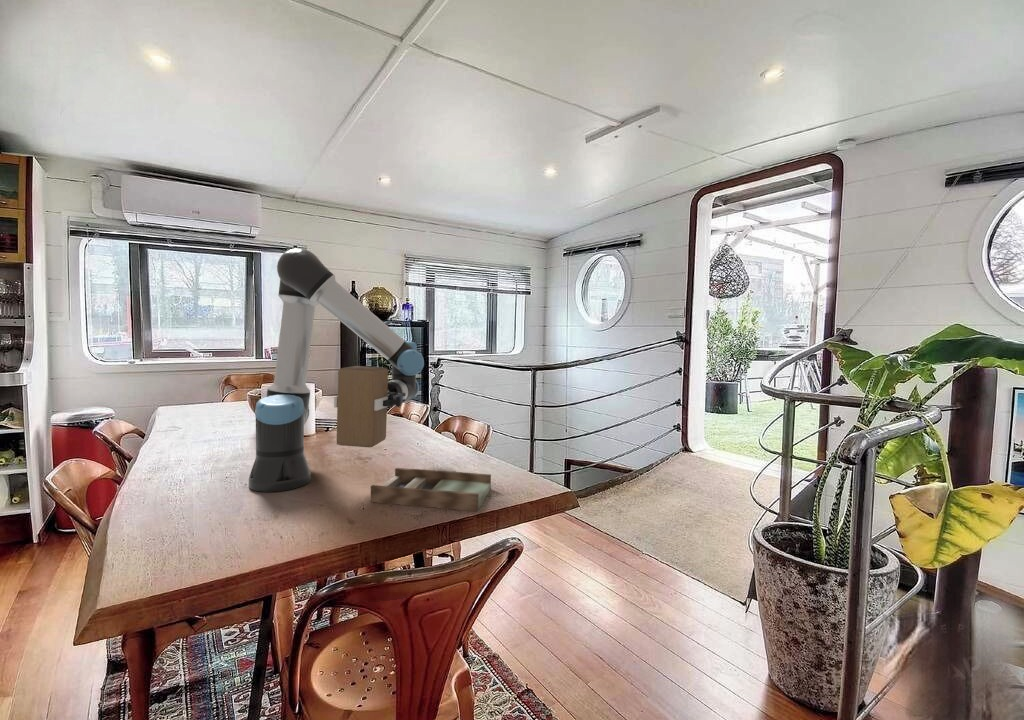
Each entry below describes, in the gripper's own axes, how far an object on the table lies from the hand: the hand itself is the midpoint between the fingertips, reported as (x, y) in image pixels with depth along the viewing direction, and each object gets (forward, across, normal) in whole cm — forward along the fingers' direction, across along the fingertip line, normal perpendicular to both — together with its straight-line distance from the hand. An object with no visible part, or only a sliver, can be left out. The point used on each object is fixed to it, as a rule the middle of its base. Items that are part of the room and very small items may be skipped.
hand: (355, 403), depth 117 cm
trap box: (-4, -20, -23) cm, 31 cm away
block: (-4, 0, -11) cm, 12 cm away
